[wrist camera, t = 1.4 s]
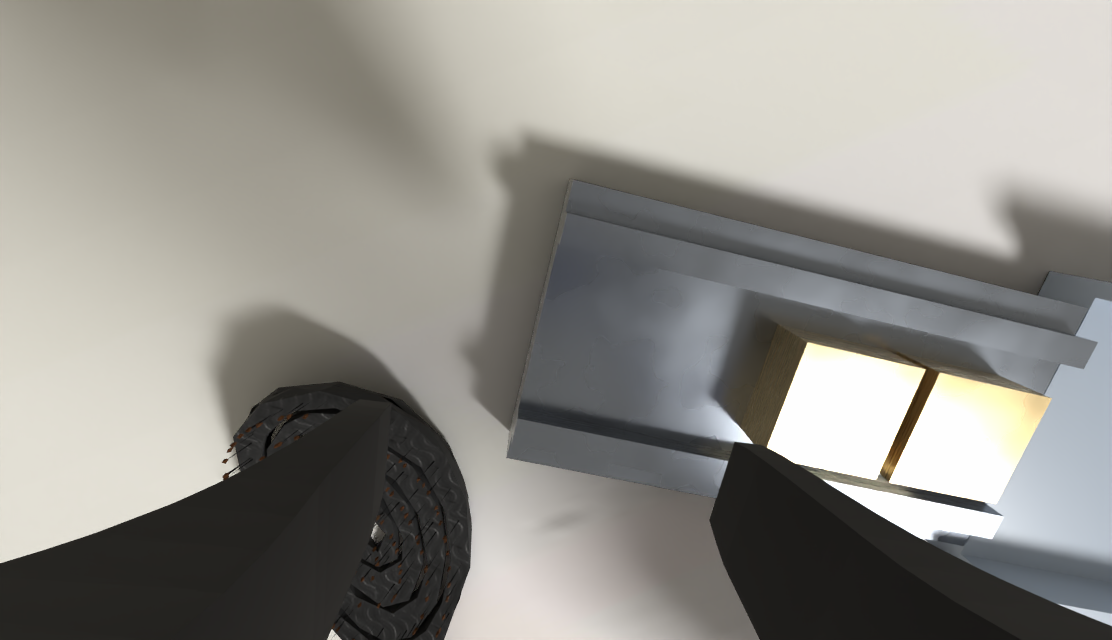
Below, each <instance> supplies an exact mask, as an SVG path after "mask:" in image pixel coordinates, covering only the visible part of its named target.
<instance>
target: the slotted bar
mask: <svg viewBox="0 0 1112 640" xmlns="http://www.w3.org/2000/svg"><path fill="white" fill-rule="evenodd" d="M1088 309H1089V308H1085V307H1081V306H1077V305H1073V304H1069V303H1065V302H1061V301H1057V300H1053V299H1049V298H1045V297H1041V296H1037V295H1033V294H1029V293H1025V292H1021V291H1017V290H1013V289H1009V288H1005V287H1001V286H997V285H993V284H989V283H985V282H981V281H977V280H973V279H969V278H965V277H961V276H957V275H953V274H949V273H945V272H941V271H937V270H933V269H929V268H925V267H921V266H917V265H913V264H909V263H905V262H901V261H897V260H893V259H889V258H885V257H881V256H877V255H873V254H869V253H865V252H861V251H857V250H853V249H849V248H845V247H841V246H837V245H833V244H829V243H825V242H821V241H817V240H813V239H809V238H805V237H801V236H797V235H793V234H789V233H785V232H781V231H777V230H773V229H769V228H765V227H761V226H757V225H753V224H749V223H745V222H741V221H737V220H733V219H729V218H725V217H721V216H717V215H713V214H709V213H705V212H701V211H697V210H693V209H689V208H685V207H681V206H677V205H673V204H669V203H665V202H661V201H657V200H653V199H649V198H645V197H641V196H637V195H633V194H629V193H625V192H621V191H617V190H613V189H609V188H605V187H601V186H597V185H593V184H589V183H585V182H581V181H577V180H573V179H569V183H568V187H567V191H566V196H565V200H564V204H563V208H562V212H561V217H560V221H559V225H558V229H557V233H556V238H555V242H554V246H553V250H552V254H551V259H550V263H549V267H548V271H547V275H546V279H545V284H544V288H543V292H542V296H541V300H540V305H539V309H538V313H537V317H536V321H535V326H534V330H533V334H532V338H531V342H530V347H529V351H528V355H527V359H526V363H525V368H524V372H523V376H522V380H521V384H520V388H519V393H518V397H517V401H516V405H515V409H514V414H513V418H512V422H511V426H510V430H509V439H508V448H507V457H506V458H511V459H516V460H521V461H526V462H531V463H536V464H542V465H547V466H552V467H557V468H562V469H567V470H573V471H578V472H583V473H588V474H593V475H598V476H604V477H609V478H614V479H619V480H624V481H629V482H634V483H640V484H645V485H650V486H655V487H660V488H665V489H671V490H676V491H681V492H686V493H691V494H696V495H702V496H707V497H712V498H717V495H718V492H719V489H720V486H721V482H722V479H723V476H724V473H725V470H726V467H727V464H728V461H729V458H730V454H731V451H732V448H733V445H734V442H742V443H751V444H753V443H752V441H751V440H750V439H749V438H748V437H747V435H746V434H745V433H744V432H743V430H742V429H741V428H740V427H741V424H742V422H743V419H744V416H745V413H746V411H747V408H748V405H749V402H750V400H751V397H752V394H753V392H754V389H755V386H756V383H757V381H758V378H759V375H760V372H761V370H762V367H763V364H764V362H765V359H766V356H767V353H768V351H769V348H770V345H771V342H772V340H773V337H774V334H775V332H776V329H777V326H778V324H779V325H784V326H788V327H792V328H797V329H801V330H805V331H809V332H814V333H818V334H822V335H827V336H831V337H835V338H840V339H844V340H848V341H853V342H857V343H861V344H866V345H870V346H874V347H879V348H883V349H886V350H888V351H890V352H892V353H894V354H897V352H900V353H905V354H909V355H913V356H918V357H922V358H926V359H931V360H935V361H939V362H944V363H948V364H952V365H956V366H961V367H965V368H969V369H974V370H978V371H982V372H987V373H991V374H995V375H999V376H1001V377H1004V378H1006V379H1008V380H1011V381H1013V382H1015V383H1018V384H1020V385H1022V386H1025V387H1027V388H1029V389H1032V390H1034V391H1036V392H1038V393H1041V394H1044V392H1045V390H1046V389H1047V387H1048V385H1049V383H1050V381H1051V379H1052V377H1053V375H1054V373H1055V371H1056V370H1057V368H1058V366H1059V364H1063V365H1068V366H1072V367H1076V368H1080V369H1084V368H1085V366H1086V364H1087V362H1088V360H1089V359H1090V357H1091V355H1092V353H1093V351H1094V349H1095V348H1096V346H1097V344H1098V342H1096V341H1092V340H1089V339H1086V338H1082V337H1079V336H1076V335H1075V333H1076V332H1077V330H1078V328H1079V326H1080V324H1081V322H1082V320H1083V318H1084V316H1085V314H1086V312H1087V311H1088ZM796 464H798V463H796ZM798 465H799V466H801V467H803V468H804V469H806V470H808V471H809V472H811V473H812V474H814V475H816V476H817V477H819V478H820V479H822V480H824V481H825V482H827V483H828V484H830V485H832V486H833V487H835V488H836V489H838V490H840V491H841V492H843V493H844V494H846V495H848V496H849V497H851V498H853V499H854V500H856V501H857V502H859V503H861V504H862V505H864V506H866V507H867V508H869V509H871V510H872V511H874V512H876V513H877V514H879V515H881V516H882V517H884V518H886V519H888V520H889V521H891V522H893V523H895V524H896V525H898V526H900V527H901V528H903V529H905V530H907V531H908V532H910V533H912V534H914V535H915V536H917V537H919V538H924V539H929V540H934V541H939V542H944V543H949V544H955V545H960V546H964V544H965V543H966V541H967V539H968V537H969V535H974V536H979V537H984V538H989V539H992V538H993V536H994V534H995V532H996V531H997V529H998V527H999V525H1000V523H1001V521H1002V520H1003V518H1004V516H1002V515H1001V514H1000V513H998V512H997V511H996V510H994V509H993V508H991V507H990V506H989V505H987V504H986V503H987V502H984V501H979V500H974V499H969V498H965V497H960V496H955V495H950V494H945V493H940V492H935V491H930V490H925V489H920V488H916V487H911V486H906V485H901V484H896V483H891V482H889V481H887V480H886V479H885V478H884V477H883V476H882V475H881V474H879V473H878V476H877V478H876V479H871V478H866V477H862V476H857V475H852V474H847V473H842V472H837V471H832V470H827V469H822V468H817V467H813V466H808V465H803V464H798Z"/></svg>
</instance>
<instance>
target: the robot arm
mask: <svg viewBox="0 0 1112 640" xmlns="http://www.w3.org/2000/svg"><path fill="white" fill-rule="evenodd" d="M391 404H392V403H388V402H379V401H370V400H362V399H359V400H358V401H356V402H354V403H353V404H351V405H350V406H348V407H347V408H345V409H344V410H342V411H341V412H339V413H338V414H336V415H335V416H333V417H332V418H330V419H329V420H327V421H326V422H324V423H323V424H321V425H319V426H318V427H316V428H315V429H313V430H312V431H310V432H308V433H307V434H305V435H304V436H302V437H301V438H299V439H297V440H296V441H294V442H293V443H291V444H289V445H288V446H286V447H284V448H282V449H280V450H279V451H277V452H275V453H273V454H272V455H270V456H268V457H266V458H265V459H263V460H261V461H259V462H257V463H256V464H254V465H252V466H250V467H249V468H247V469H245V470H243V471H241V472H239V473H237V474H235V475H233V476H231V477H229V478H227V479H225V480H223V481H221V482H219V483H217V484H215V485H213V486H211V487H209V488H206V489H204V490H202V491H200V492H198V493H195V494H193V495H191V496H189V497H187V498H184V499H182V500H180V501H177V502H175V503H173V504H170V505H168V506H165V507H163V508H160V509H157V510H155V511H152V512H150V513H147V514H144V515H142V516H139V517H137V518H134V519H131V520H129V521H126V522H123V523H121V524H118V525H116V526H113V527H110V528H108V529H105V530H103V531H100V532H97V533H94V534H91V535H88V536H86V537H83V538H80V539H76V540H73V541H70V542H67V543H64V544H61V545H58V546H55V547H52V548H49V549H46V550H43V551H40V552H36V553H33V554H30V555H26V556H23V557H20V558H17V559H13V560H10V561H7V562H3V563H0V640H327V638H328V636H329V634H330V631H331V629H332V627H333V624H334V622H335V620H336V617H337V615H338V613H339V610H340V608H341V606H342V603H343V601H344V599H345V596H346V594H347V592H348V589H349V587H350V585H351V582H352V580H353V578H354V575H355V573H356V571H357V568H358V566H359V563H360V561H361V559H362V556H363V554H364V552H365V549H366V547H367V544H368V542H369V540H370V537H371V534H372V531H373V527H374V524H375V521H376V517H377V514H378V510H379V507H380V503H381V500H382V496H383V493H384V485H385V473H386V462H387V450H388V439H389V427H390V415H391ZM710 524H711V527H712V530H713V534H714V537H715V540H716V543H717V546H718V549H719V552H720V555H721V558H722V561H723V564H724V566H725V568H726V570H727V573H728V575H729V577H730V579H731V581H732V583H733V585H734V587H735V590H736V592H737V594H738V596H739V598H740V600H741V602H742V604H743V606H744V608H745V610H746V612H747V614H748V616H749V618H750V620H751V622H752V624H753V626H754V629H755V631H756V633H757V635H758V637H759V639H760V640H1112V626H1110V625H1108V624H1105V623H1103V622H1100V621H1098V620H1095V619H1093V618H1090V617H1088V616H1085V615H1083V614H1080V613H1078V612H1075V611H1073V610H1071V609H1068V608H1066V607H1063V606H1061V605H1059V604H1056V603H1054V602H1052V601H1049V600H1047V599H1045V598H1043V597H1040V596H1038V595H1036V594H1034V593H1031V592H1029V591H1027V590H1024V589H1022V588H1020V587H1018V586H1015V585H1013V584H1011V583H1009V582H1006V581H1004V580H1002V579H1000V578H998V577H996V576H994V575H992V574H989V573H987V572H985V571H983V570H981V569H979V568H977V567H975V566H973V565H971V564H969V563H967V562H965V561H963V560H961V559H959V558H957V557H955V556H953V555H951V554H949V553H947V552H945V551H943V550H941V549H939V548H938V547H936V546H934V545H932V544H930V543H928V542H926V541H925V540H923V539H921V538H919V537H917V536H915V535H914V534H912V533H910V532H908V531H907V530H905V529H903V528H901V527H900V526H898V525H896V524H895V523H893V522H891V521H889V520H888V519H886V518H884V517H882V516H881V515H879V514H877V513H876V512H874V511H872V510H871V509H869V508H867V507H866V506H864V505H862V504H861V503H859V502H857V501H856V500H854V499H853V498H851V497H849V496H848V495H846V494H844V493H843V492H841V491H840V490H838V489H836V488H835V487H833V486H832V485H830V484H828V483H827V482H825V481H824V480H822V479H820V478H819V477H817V476H816V475H814V474H812V473H811V472H809V471H808V470H806V469H804V468H803V467H801V466H799V465H798V464H796V463H794V462H793V461H791V460H789V459H788V458H786V457H784V456H783V455H781V454H779V453H777V452H775V451H773V450H771V449H769V448H767V447H765V446H763V445H760V444H751V443H742V442H734V445H733V448H732V451H731V454H730V458H729V461H728V464H727V467H726V470H725V473H724V476H723V479H722V482H721V486H720V489H719V492H718V495H717V498H716V501H715V504H714V507H713V511H712V514H711V517H710Z"/></svg>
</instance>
